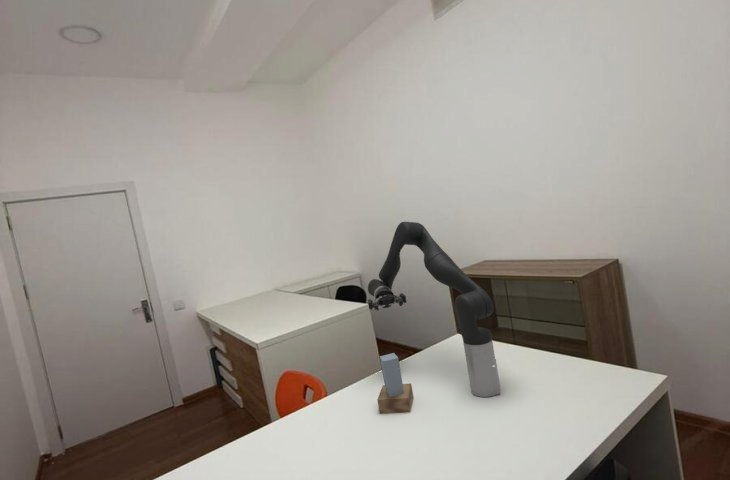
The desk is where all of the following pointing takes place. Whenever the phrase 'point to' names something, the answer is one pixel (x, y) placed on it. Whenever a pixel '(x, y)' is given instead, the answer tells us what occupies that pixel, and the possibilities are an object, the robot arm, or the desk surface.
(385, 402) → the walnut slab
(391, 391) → the slate pillar
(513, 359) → the desk surface
